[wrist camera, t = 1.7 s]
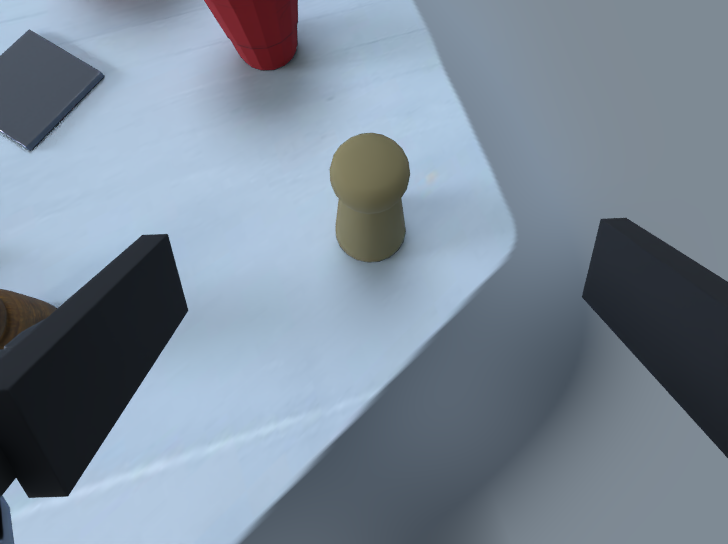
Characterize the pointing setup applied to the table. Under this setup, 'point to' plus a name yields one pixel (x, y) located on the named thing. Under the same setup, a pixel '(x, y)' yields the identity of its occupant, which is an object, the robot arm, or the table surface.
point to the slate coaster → (39, 87)
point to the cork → (370, 196)
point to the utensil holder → (20, 314)
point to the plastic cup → (259, 29)
